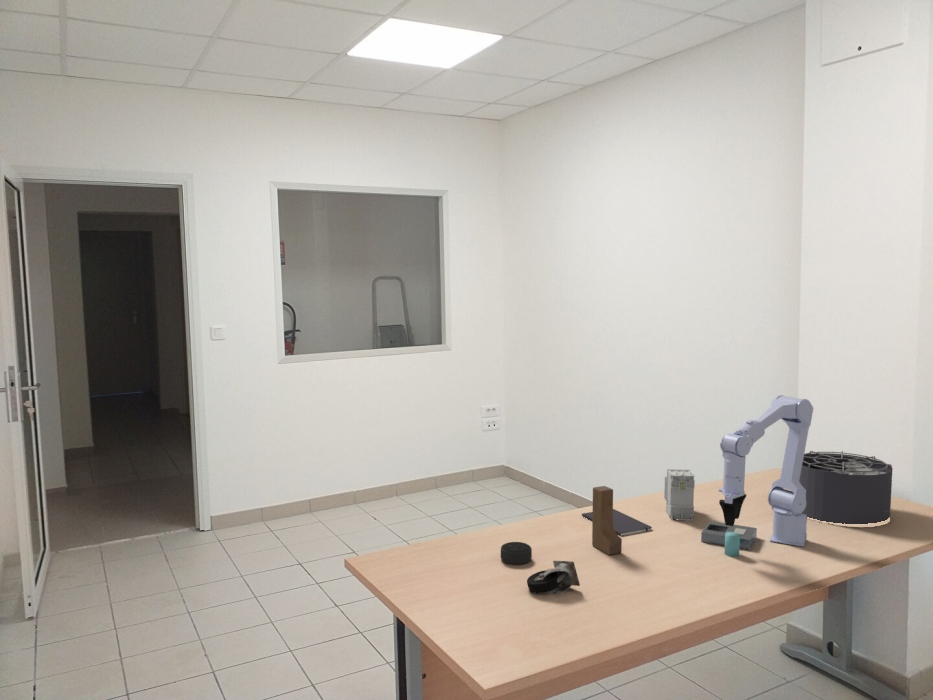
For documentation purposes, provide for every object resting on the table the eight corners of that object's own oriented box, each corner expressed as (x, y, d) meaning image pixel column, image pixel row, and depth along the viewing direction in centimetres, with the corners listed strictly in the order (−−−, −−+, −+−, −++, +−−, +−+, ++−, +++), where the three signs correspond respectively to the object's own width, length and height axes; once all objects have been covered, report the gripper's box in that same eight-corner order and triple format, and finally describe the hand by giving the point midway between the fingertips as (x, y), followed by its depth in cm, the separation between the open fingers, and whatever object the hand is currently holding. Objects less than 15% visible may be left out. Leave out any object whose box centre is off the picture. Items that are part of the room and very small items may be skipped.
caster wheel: (525, 600, 190) (546, 582, 197) (560, 603, 182) (581, 584, 190) (518, 575, 190) (540, 558, 197) (553, 578, 182) (574, 560, 189)
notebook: (581, 518, 248) (620, 538, 229) (581, 513, 248) (620, 533, 229) (612, 512, 254) (653, 532, 234) (612, 508, 253) (653, 527, 234)
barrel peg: (740, 553, 214) (740, 533, 214) (737, 557, 211) (738, 537, 210) (726, 550, 216) (726, 531, 216) (723, 555, 213) (723, 535, 212)
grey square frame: (756, 537, 227) (756, 527, 227) (749, 550, 217) (750, 539, 217) (709, 530, 234) (710, 520, 234) (701, 541, 224) (701, 531, 223)
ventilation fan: (897, 475, 229) (792, 465, 242) (894, 533, 230) (790, 520, 243) (890, 454, 255) (795, 446, 268) (887, 506, 257) (793, 495, 270)
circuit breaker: (685, 507, 258) (686, 465, 256) (693, 520, 244) (694, 476, 242) (663, 506, 258) (664, 464, 257) (670, 519, 244) (671, 475, 243)
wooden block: (622, 553, 215) (622, 493, 213) (609, 555, 213) (610, 495, 211) (604, 543, 223) (604, 485, 221) (591, 545, 221) (592, 487, 219)
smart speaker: (534, 555, 214) (534, 542, 213) (528, 567, 205) (528, 553, 205) (504, 552, 216) (504, 539, 216) (497, 564, 208) (497, 550, 207)
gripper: (724, 468, 220) (722, 512, 221) (714, 479, 208) (712, 526, 209) (749, 471, 216) (747, 516, 218) (740, 482, 204) (738, 530, 205)
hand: (732, 521), depth 213 cm, fingers open, 7 cm apart
